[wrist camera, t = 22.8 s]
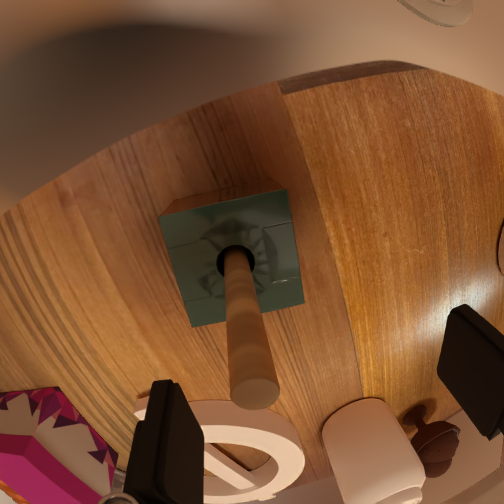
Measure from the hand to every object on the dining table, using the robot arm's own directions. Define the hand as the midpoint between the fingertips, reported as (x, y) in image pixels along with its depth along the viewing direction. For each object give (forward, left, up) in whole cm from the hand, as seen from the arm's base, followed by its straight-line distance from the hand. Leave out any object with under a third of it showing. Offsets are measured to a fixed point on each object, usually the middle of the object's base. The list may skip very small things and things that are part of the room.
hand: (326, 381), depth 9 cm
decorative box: (+28, -43, -24) cm, 56 cm away
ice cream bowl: (+43, +23, -24) cm, 55 cm away
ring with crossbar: (+37, -14, -24) cm, 46 cm away
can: (+37, +10, -24) cm, 46 cm away
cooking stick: (+2, -2, -24) cm, 24 cm away
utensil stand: (+1, -2, -24) cm, 24 cm away
